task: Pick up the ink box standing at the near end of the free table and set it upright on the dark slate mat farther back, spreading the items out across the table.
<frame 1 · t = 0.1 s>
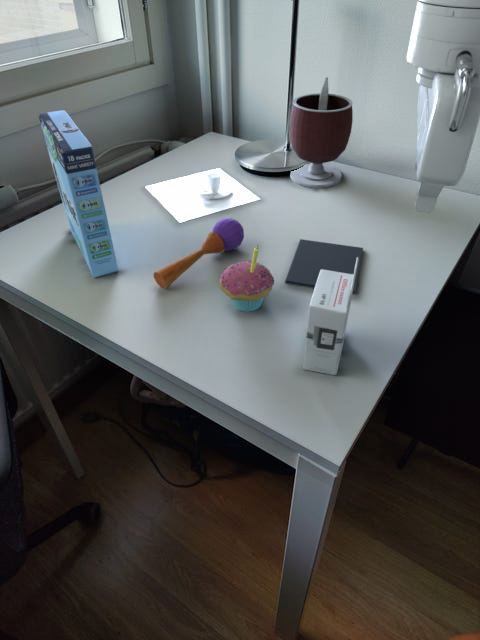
hand: (422, 188, 50), 26 cm above the table, tool pointing down, fingers open, 8 cm apart
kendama: (202, 264, 85), on the table
gum box: (93, 250, 89), on the table
ink box: (323, 353, 68), on the table
mate gourd: (315, 175, 113), on the table
cupcake: (246, 304, 76), on the table
slate mat: (325, 266, 84), on the table
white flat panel: (201, 193, 107), on the table
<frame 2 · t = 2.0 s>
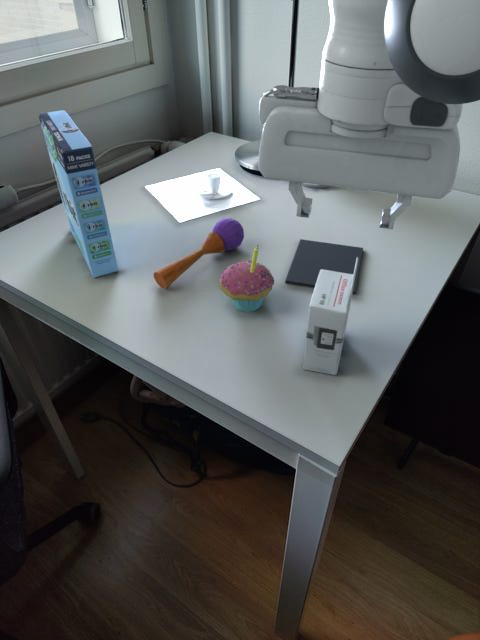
hand: (344, 220, 53), 22 cm above the table, tool pointing down, fingers open, 8 cm apart
nothing on the table moved.
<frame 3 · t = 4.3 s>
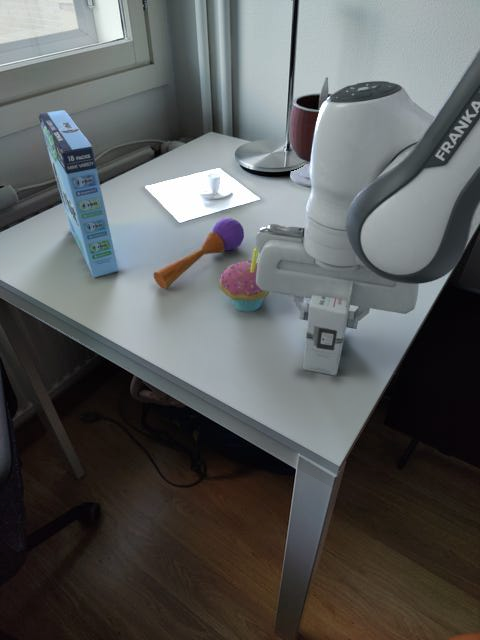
hand: (328, 321, 63), 6 cm above the table, tool pointing down, fingers closed on ink box, 5 cm apart
ink box: (323, 353, 68), on the table, touching gripper
everything else where it was.
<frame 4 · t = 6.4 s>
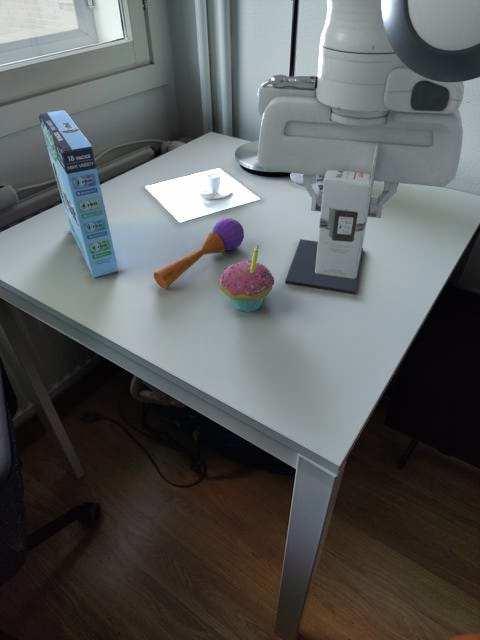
hand: (346, 212, 52), 23 cm above the table, tool pointing down, fingers closed on ink box, 5 cm apart
ink box: (339, 259, 57), point 16 cm above the table, touching gripper
everything else where it was.
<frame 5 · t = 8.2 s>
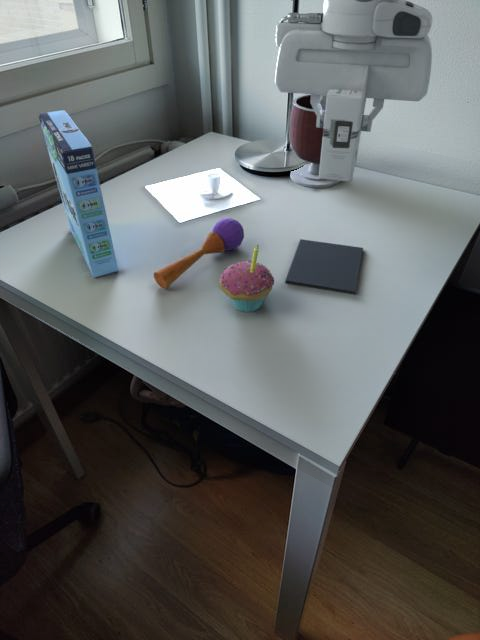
hand: (343, 128, 66), 25 cm above the table, tool pointing down, fingers closed on ink box, 5 cm apart
ink box: (337, 170, 71), point 19 cm above the table, touching gripper
everything else where it was.
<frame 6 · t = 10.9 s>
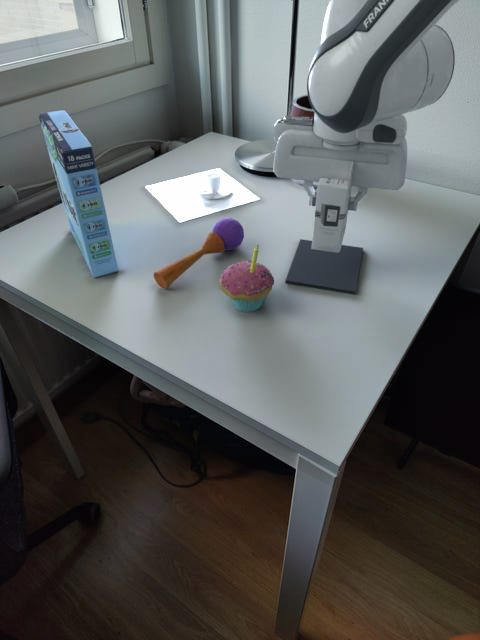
hand: (333, 206, 76), 12 cm above the table, tool pointing down, fingers closed on ink box, 5 cm apart
ink box: (328, 239, 80), point 6 cm above the table, touching gripper
everything else where it was.
when the fingers open (7 cm above the table, at t = 12.6 s): ink box stays where it is, resting on slate mat.
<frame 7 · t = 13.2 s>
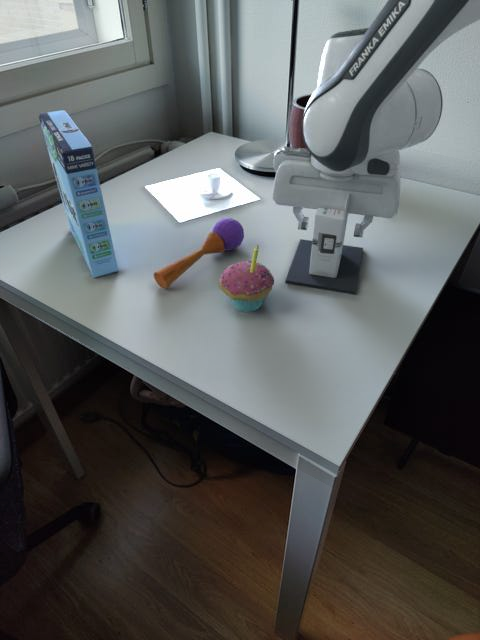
hand: (330, 231, 79), 7 cm above the table, tool pointing down, fingers open, 8 cm apart
ink box: (325, 264, 84), resting on slate mat
everything else where it was.
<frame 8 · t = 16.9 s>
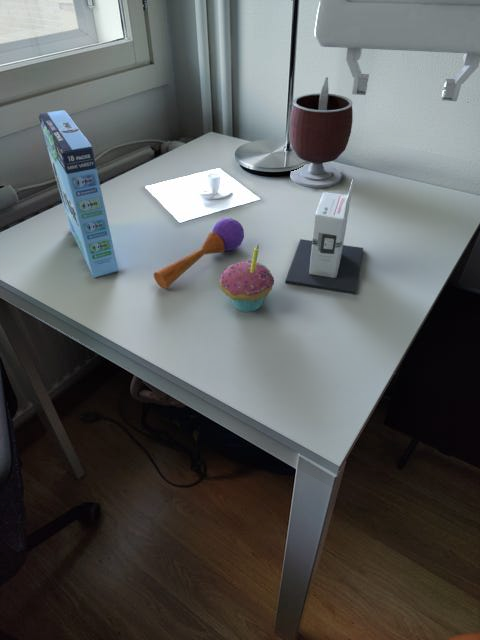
hand: (403, 96, 50), 33 cm above the table, tool pointing down, fingers open, 8 cm apart
nothing on the table moved.
at the end: ink box 0.1 cm off-centre on the slate mat, point 0.4 cm above the slate mat's base; ink box tilted 0°; ink box moved 22.1 cm from its start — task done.
